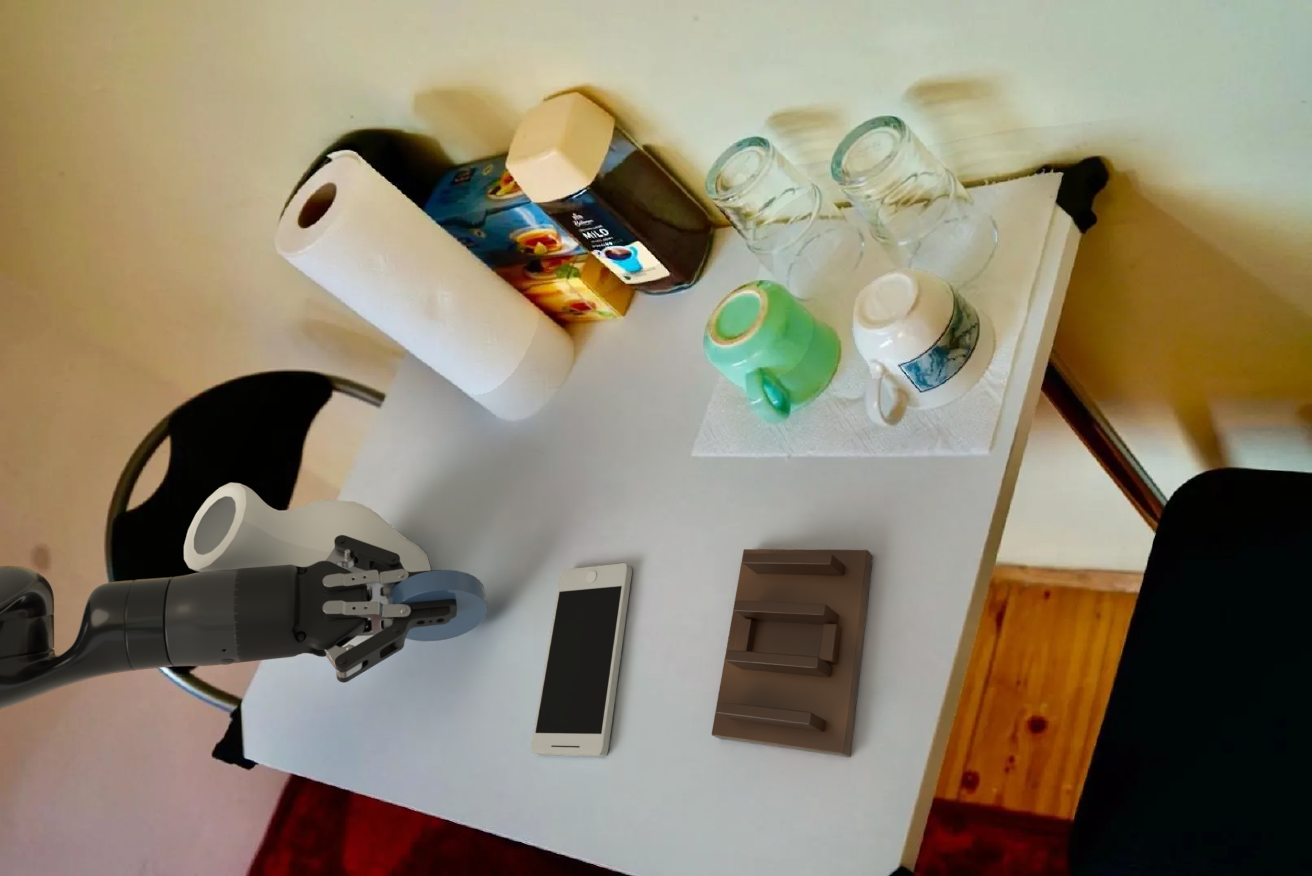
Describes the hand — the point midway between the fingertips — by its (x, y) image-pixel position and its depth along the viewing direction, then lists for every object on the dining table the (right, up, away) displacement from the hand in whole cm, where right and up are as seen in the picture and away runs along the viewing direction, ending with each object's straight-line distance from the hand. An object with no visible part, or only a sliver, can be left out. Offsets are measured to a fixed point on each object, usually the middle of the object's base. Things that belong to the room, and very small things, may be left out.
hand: (454, 595), depth 78 cm
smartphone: (+12, -5, -4) cm, 13 cm away
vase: (-10, -3, +14) cm, 17 cm away
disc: (-2, -1, +1) cm, 2 cm away
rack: (+28, -1, -13) cm, 31 cm away
